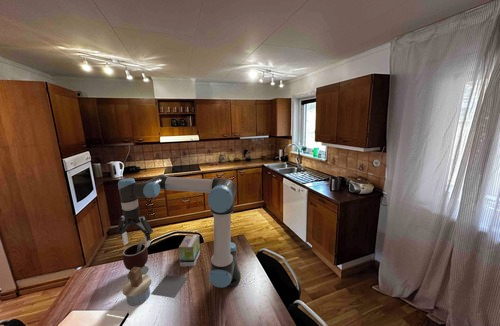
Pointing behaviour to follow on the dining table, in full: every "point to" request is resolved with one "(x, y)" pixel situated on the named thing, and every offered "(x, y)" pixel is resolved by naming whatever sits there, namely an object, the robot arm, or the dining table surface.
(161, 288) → the mat
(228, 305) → the dining table surface
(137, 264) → the mate gourd
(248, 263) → the dining table surface
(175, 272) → the dining table surface
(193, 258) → the tea box
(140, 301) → the bowl
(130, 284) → the lid
